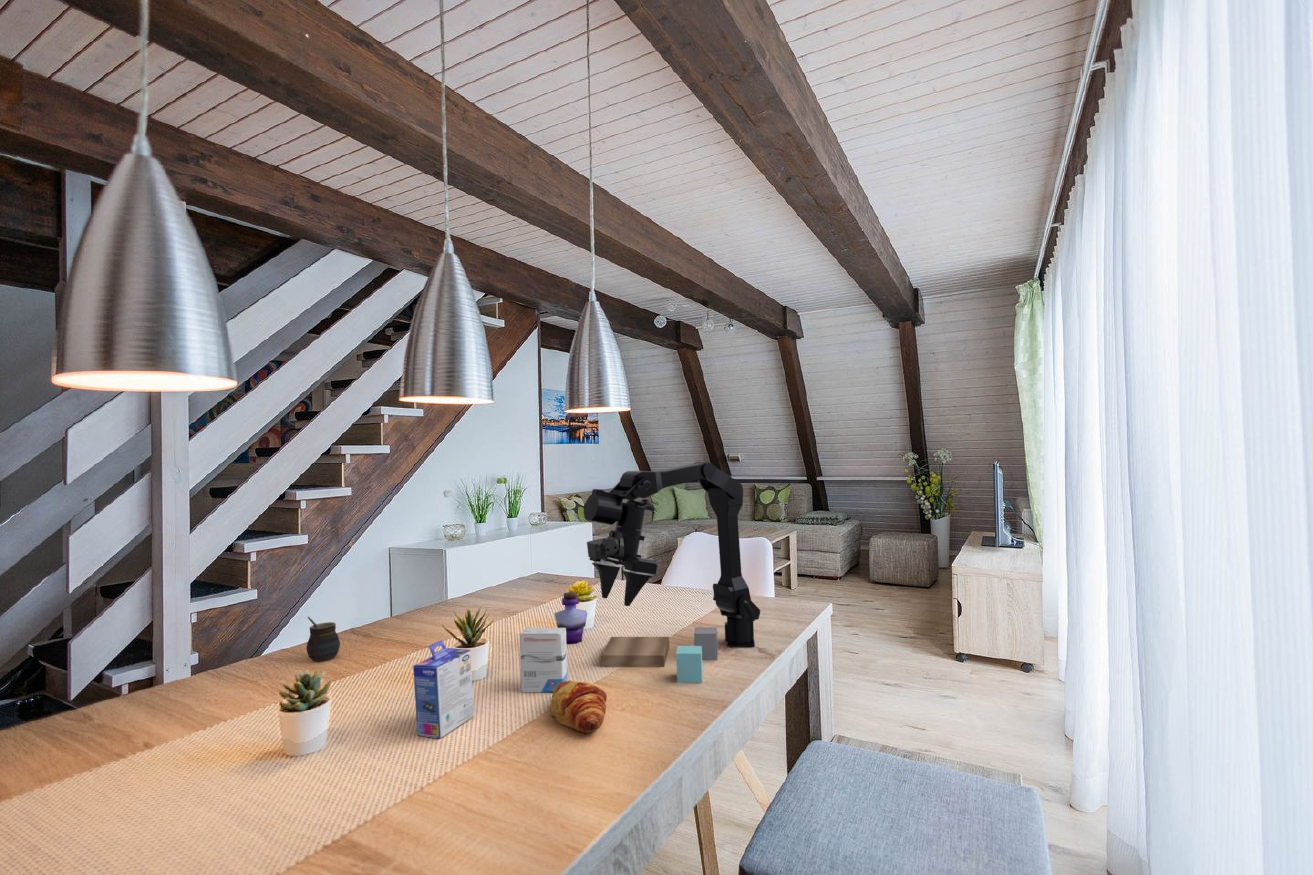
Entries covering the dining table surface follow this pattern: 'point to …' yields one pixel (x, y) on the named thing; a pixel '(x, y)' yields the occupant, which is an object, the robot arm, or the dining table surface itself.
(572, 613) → the potion bottle
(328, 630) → the mate gourd
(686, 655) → the teal block
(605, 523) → the robot arm
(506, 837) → the dining table surface
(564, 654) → the ink box
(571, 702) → the croissant
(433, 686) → the ink cartridge box
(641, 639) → the walnut slab
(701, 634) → the gray block
